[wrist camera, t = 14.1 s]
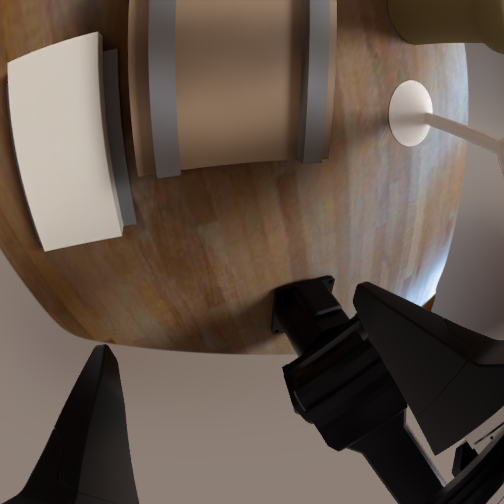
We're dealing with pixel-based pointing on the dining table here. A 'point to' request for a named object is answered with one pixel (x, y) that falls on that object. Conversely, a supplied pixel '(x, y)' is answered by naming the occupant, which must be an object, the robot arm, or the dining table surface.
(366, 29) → the dining table surface
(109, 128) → the mat
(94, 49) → the cover plate
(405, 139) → the champagne flute
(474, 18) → the cork
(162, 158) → the lid box
